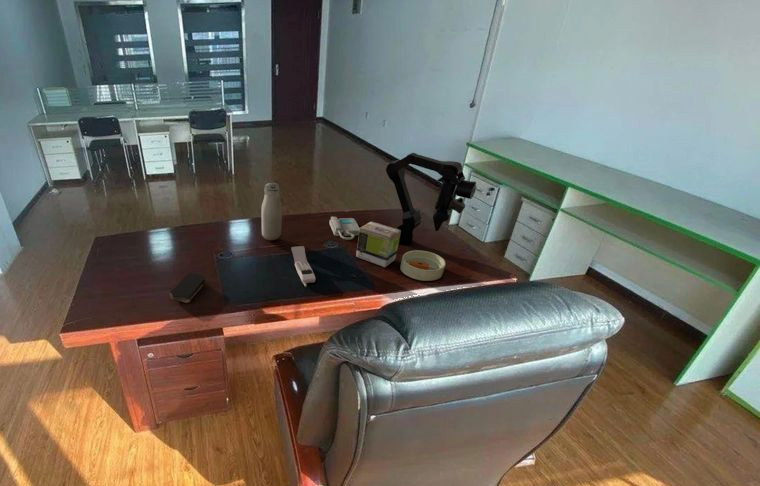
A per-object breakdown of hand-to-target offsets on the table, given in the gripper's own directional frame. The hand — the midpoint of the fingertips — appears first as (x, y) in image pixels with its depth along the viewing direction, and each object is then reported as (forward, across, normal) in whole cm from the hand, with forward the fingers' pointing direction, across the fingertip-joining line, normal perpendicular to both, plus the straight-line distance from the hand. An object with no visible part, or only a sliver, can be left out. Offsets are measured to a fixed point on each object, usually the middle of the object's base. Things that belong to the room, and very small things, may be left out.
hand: (437, 226), depth 178 cm
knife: (+11, -21, +2) cm, 24 cm away
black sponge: (+12, -74, +86) cm, 115 cm away
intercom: (+12, +3, +41) cm, 43 cm away
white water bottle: (+12, -18, +74) cm, 77 cm away
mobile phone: (+12, -42, +49) cm, 65 cm away
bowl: (+12, -22, +2) cm, 25 cm away
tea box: (+12, -18, +22) cm, 31 cm away
